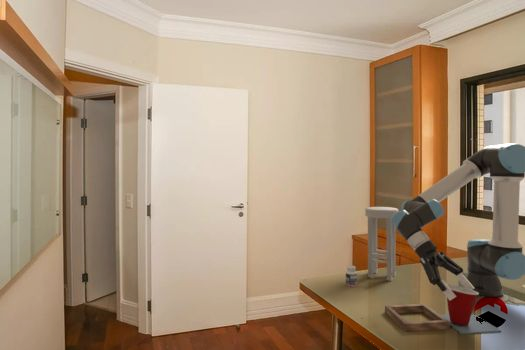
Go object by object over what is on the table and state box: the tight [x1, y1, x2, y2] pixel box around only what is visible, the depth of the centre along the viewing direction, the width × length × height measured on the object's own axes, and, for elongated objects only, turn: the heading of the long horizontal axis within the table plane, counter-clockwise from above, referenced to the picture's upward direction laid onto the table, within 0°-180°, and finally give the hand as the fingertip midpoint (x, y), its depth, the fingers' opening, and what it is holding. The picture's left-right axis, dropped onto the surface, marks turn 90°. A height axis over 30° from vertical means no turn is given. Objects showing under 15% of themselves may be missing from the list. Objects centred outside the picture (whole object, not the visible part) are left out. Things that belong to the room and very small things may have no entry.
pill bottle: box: [345, 265, 358, 288], centre depth 166 cm, size 5×5×9 cm
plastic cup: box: [446, 284, 480, 325], centre depth 123 cm, size 11×11×12 cm
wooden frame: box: [384, 303, 451, 332], centre depth 127 cm, size 16×16×2 cm
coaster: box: [440, 312, 502, 335], centre depth 124 cm, size 14×14×1 cm
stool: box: [364, 206, 399, 282], centre depth 179 cm, size 16×16×35 cm
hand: (462, 294), depth 125 cm, fingers open, 13 cm apart
